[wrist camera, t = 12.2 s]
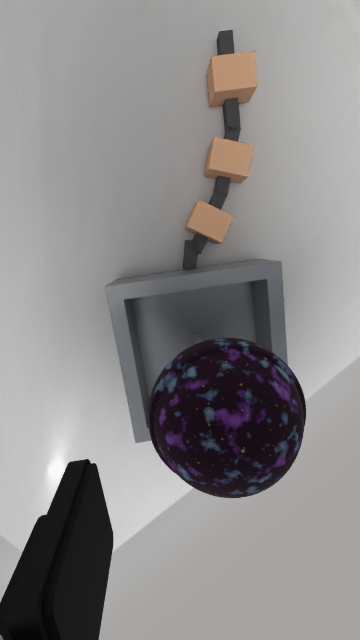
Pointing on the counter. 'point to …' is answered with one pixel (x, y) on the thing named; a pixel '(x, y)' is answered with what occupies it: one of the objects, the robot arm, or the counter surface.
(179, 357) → the lollipop
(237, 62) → the cable run
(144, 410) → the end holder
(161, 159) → the counter surface
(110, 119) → the counter surface
